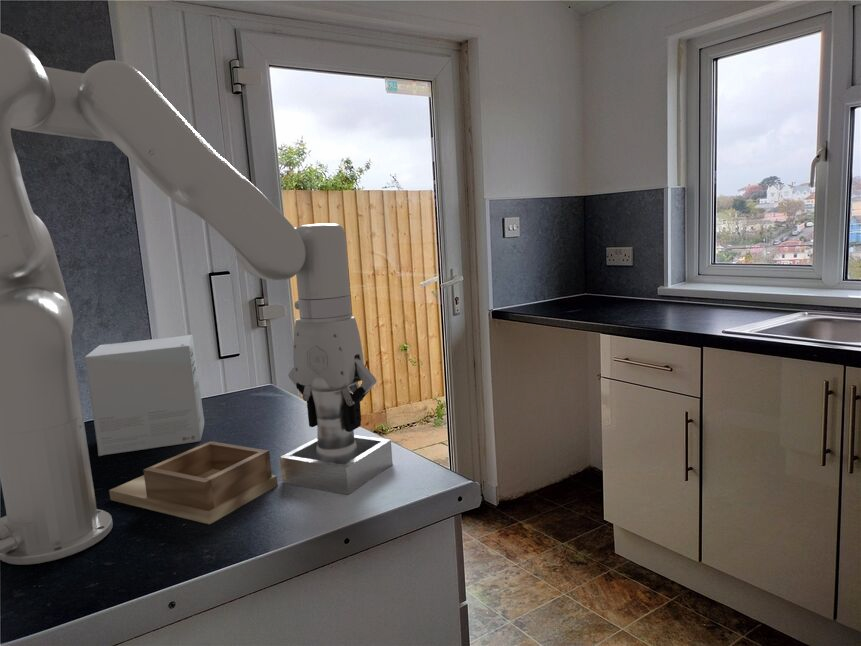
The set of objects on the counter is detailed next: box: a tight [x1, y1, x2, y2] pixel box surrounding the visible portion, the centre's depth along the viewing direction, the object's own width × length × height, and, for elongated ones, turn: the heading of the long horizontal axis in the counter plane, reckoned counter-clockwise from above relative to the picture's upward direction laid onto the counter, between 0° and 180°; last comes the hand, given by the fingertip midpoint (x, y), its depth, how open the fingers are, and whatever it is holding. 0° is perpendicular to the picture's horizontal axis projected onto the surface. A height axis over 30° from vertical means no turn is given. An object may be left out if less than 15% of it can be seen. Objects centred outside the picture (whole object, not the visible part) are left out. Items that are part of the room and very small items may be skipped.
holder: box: [279, 434, 394, 496], centre depth 95 cm, size 12×12×4 cm
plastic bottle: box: [311, 378, 359, 464], centre depth 94 cm, size 6×7×20 cm
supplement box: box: [84, 334, 205, 457], centre depth 116 cm, size 17×13×18 cm
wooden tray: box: [108, 440, 278, 525], centre depth 91 cm, size 13×20×6 cm, turn 62°
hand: (334, 425), depth 94 cm, fingers closed on plastic bottle, 6 cm apart
